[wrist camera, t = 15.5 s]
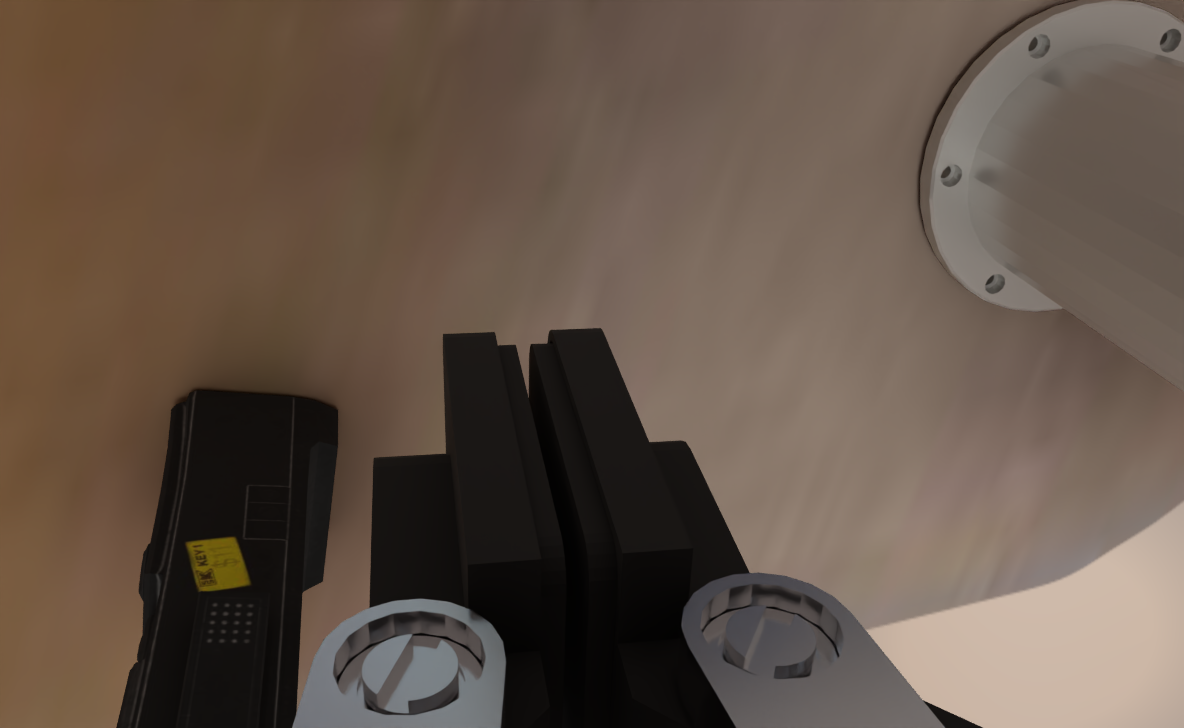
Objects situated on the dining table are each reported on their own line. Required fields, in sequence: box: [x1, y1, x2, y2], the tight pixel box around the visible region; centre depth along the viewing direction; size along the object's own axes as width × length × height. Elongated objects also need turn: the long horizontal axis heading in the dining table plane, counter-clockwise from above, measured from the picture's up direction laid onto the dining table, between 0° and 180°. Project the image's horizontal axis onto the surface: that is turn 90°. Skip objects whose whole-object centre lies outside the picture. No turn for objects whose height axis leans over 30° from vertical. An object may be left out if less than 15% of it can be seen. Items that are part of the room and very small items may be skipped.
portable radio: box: [116, 390, 338, 728], centre depth 31 cm, size 8×6×25 cm
